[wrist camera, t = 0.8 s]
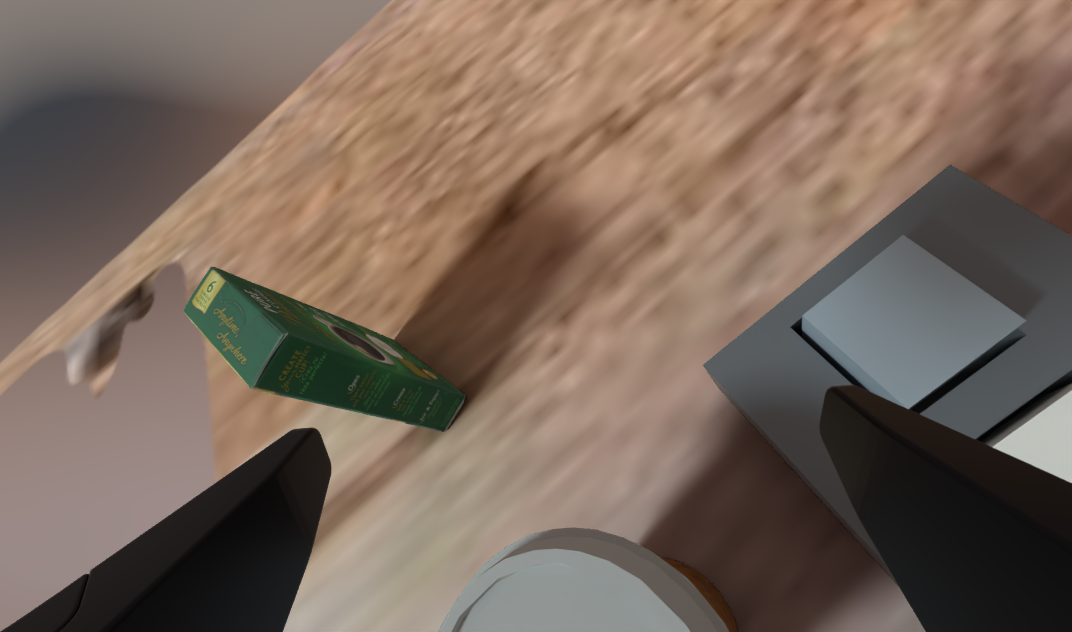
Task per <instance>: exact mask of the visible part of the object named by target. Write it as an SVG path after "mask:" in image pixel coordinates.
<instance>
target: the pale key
mask: <svg viewBox="0 0 1072 632" xmlns="http://www.w3.org/2000/svg"><path fill="white" fill-rule="evenodd" d="M980 442H982V443H984V444H987V445H989V446H991V447H993V448H995V449H998V450H1000V451H1002V452H1004V453H1006V454H1009V455H1011V456H1013V457H1015V458H1017V459H1020V460H1022V461H1024V462H1026V463H1029V464H1031V465H1033V466H1035V467H1037V468H1040V469H1042V470H1044V471H1046V472H1048V473H1051V474H1053V475H1055V476H1057V477H1060V478H1062V479H1064V480H1066V481H1068V482H1071V483H1072V383H1071V384H1068V385H1066V386H1064V387H1062V388H1060V389H1057V390H1055V391H1053V392H1051V393H1048V394H1046V395H1044V396H1042V397H1041V398H1040V399H1038V400H1037V401H1035V402H1034V403H1033V404H1031V405H1030V406H1028V407H1027V408H1026V409H1024V410H1023V411H1021V412H1020V413H1019V414H1017V415H1016V416H1014V417H1013V418H1012V419H1010V420H1009V421H1008V422H1006V423H1005V424H1003V425H1002V426H1001V427H999V428H998V429H996V430H995V431H994V432H992V433H991V434H989V435H988V436H987V437H985V438H984V439H982V440H981V441H980Z"/></svg>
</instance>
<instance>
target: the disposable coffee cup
mask: <svg viewBox="0 0 1072 632" xmlns="http://www.w3.org/2000/svg"><path fill="white" fill-rule="evenodd" d="M438 632H738V628H737V624H736V620H735V618H734V616H733V614H732V612H731V610H730V608H729V606H728V604H727V602H726V601H725V599H724V598H723V596H722V595H721V593H720V592H719V591H718V589H717V588H716V587H715V586H714V585H713V584H712V583H711V582H710V581H709V580H708V579H707V578H706V577H705V576H703V575H702V574H700V573H699V572H697V571H696V570H695V569H693V568H692V567H690V566H688V565H686V564H684V563H681V562H679V561H675V560H671V559H667V558H661V557H659V556H657V555H656V554H654V553H653V552H652V551H650V550H648V549H646V548H644V547H642V546H640V545H638V544H635V543H633V542H631V541H629V540H627V539H625V538H623V537H619V536H616V535H613V534H609V533H606V532H602V531H599V530H595V529H583V528H562V529H552V530H548V531H544V532H539V533H535V534H531V535H528V536H526V537H524V538H522V539H520V540H518V541H516V542H515V543H513V544H511V545H509V546H507V547H505V548H504V549H502V550H501V551H500V552H499V553H497V554H496V555H495V556H494V557H492V558H491V559H490V560H489V561H488V562H486V563H485V564H484V565H483V566H482V567H481V568H480V569H479V571H478V572H477V573H476V575H475V576H474V577H473V578H472V580H471V581H470V582H469V584H468V585H467V586H466V587H465V589H464V590H463V591H462V593H461V595H460V596H459V597H458V599H457V600H456V602H455V603H454V605H453V607H452V608H451V610H450V611H449V613H448V615H447V616H446V618H445V620H444V621H443V623H442V624H441V626H440V629H439V631H438Z"/></svg>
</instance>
